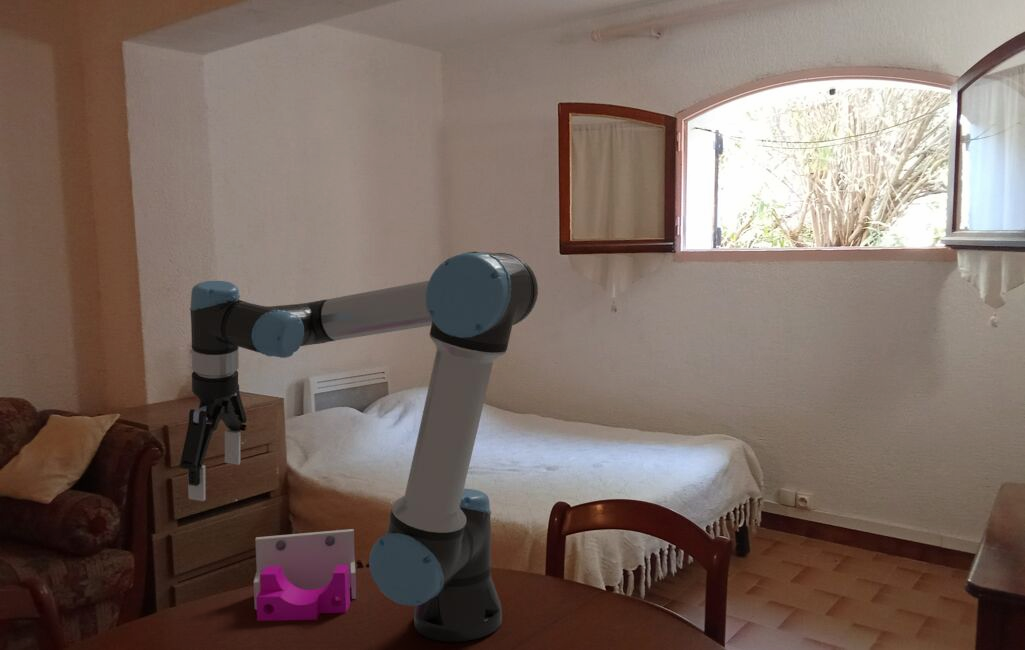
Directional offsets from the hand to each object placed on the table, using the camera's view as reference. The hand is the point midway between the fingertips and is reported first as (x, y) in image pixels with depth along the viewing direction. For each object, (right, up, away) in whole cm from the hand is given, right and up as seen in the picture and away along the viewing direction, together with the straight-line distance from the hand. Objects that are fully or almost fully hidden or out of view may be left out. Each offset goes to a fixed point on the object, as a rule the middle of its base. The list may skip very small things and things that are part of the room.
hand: (215, 480), depth 141 cm
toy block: (+16, -24, -1) cm, 29 cm away
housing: (+15, -23, +6) cm, 28 cm away
